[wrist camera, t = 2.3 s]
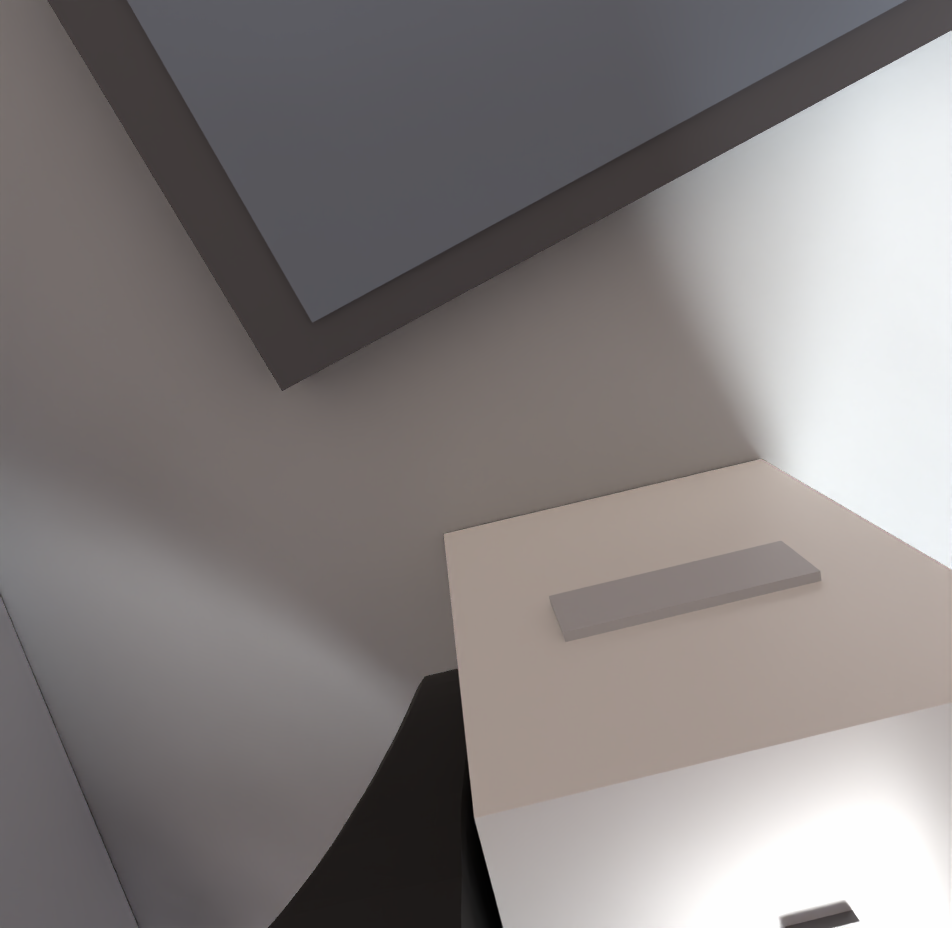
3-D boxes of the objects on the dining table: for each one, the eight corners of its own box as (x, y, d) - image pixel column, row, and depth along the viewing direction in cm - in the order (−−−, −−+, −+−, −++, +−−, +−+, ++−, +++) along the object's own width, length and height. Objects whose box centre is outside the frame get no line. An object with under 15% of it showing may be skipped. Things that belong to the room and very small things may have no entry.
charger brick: (797, 736, 12) (1127, 1148, 6) (511, 806, 12) (595, 1283, 6) (761, 452, 11) (1125, 657, 5) (441, 526, 11) (472, 816, 5)
